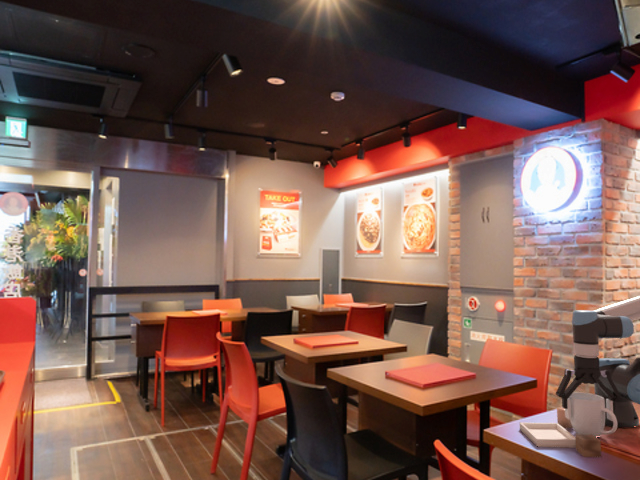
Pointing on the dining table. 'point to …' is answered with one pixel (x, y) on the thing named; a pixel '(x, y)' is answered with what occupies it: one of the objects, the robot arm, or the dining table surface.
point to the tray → (548, 435)
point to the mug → (589, 414)
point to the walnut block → (588, 445)
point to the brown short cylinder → (563, 418)
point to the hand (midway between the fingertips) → (589, 419)
